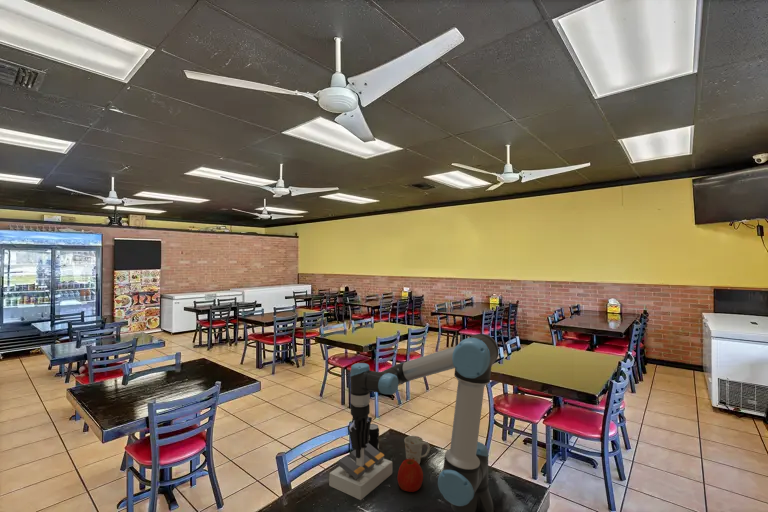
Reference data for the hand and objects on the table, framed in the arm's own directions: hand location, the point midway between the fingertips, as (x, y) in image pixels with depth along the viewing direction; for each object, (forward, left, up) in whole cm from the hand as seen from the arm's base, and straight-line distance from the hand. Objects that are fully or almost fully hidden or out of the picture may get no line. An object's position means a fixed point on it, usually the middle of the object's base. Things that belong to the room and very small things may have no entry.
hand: (360, 464), depth 142 cm
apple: (-15, -14, -10) cm, 23 cm away
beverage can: (+14, -28, -10) cm, 33 cm away
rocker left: (+4, 0, -2) cm, 5 cm away
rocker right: (+4, -14, -2) cm, 15 cm away
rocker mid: (+5, -7, -3) cm, 9 cm away
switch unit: (+4, -7, -10) cm, 13 cm away
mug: (-8, -33, -10) cm, 35 cm away
